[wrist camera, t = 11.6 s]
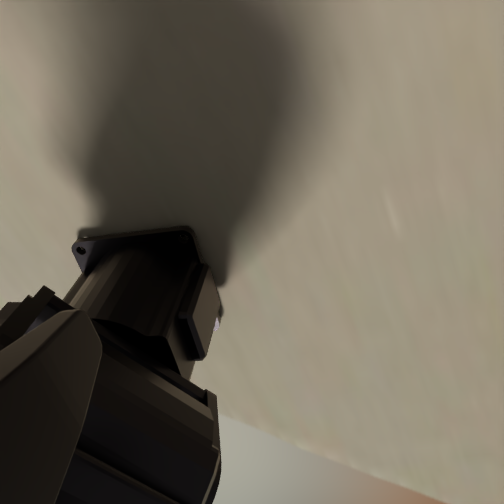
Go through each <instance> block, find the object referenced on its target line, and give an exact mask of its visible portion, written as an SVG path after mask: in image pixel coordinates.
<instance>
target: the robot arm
mask: <svg viewBox="0 0 504 504" xmlns="http://www.w3.org/2000/svg"><path fill="white" fill-rule="evenodd" d="M180 235H186V236H187V237H188V239H183V238H182V237H181V236H180ZM80 247H83V248H84V249H85V250H86V251H84V250H82V249H81V248H80ZM72 252H73V254H74V256H75V258H76V261H77V263H78V265H79V267H80V269H81V271H82V274H81V275H80V277H79V278H78V279H77V281H76V282H75V284H74V285H73V286H72V288H71V289H70V290H69V292H68V293H67V295H66V296H65V297H64V299H63V300H61V299H60V298H58V297H57V296H55V295H54V294H55V292H54V291H52V290H51V289H49V288H47V287H46V286H43V287H42V288H41V289H40V290H39V291H38V292H37V294H36V295H35V296H34V297H32V296H30V295H28V296H27V297H26V298H25V299H24V300H23V301H22V302H8V303H7V304H6V305H5V306H4V307H3V308H2V309H1V311H0V504H212V503H213V500H214V498H215V495H216V492H217V488H218V485H219V480H220V475H221V451H220V437H219V423H218V409H217V396H216V395H215V394H213V393H212V392H210V391H208V390H207V389H205V390H203V389H201V388H199V387H198V386H196V385H195V384H193V383H192V382H190V378H191V374H192V371H193V367H194V364H195V361H202V360H203V359H204V358H205V357H206V355H207V352H208V348H209V344H210V341H211V337H212V333H213V331H216V330H217V329H218V328H219V326H220V322H221V319H220V316H219V312H218V311H219V307H220V300H219V297H218V293H217V290H216V286H215V283H214V280H213V276H212V273H211V269H210V267H209V266H208V265H207V264H206V263H204V262H203V259H202V256H201V252H200V249H199V246H198V242H197V239H196V236H195V233H194V231H193V230H192V229H191V228H189V227H187V226H179V227H171V228H162V229H154V230H146V231H137V232H129V233H121V234H112V235H104V236H96V237H87V238H80V239H77V241H76V242H75V243H74V244H73V245H72Z"/></svg>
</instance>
